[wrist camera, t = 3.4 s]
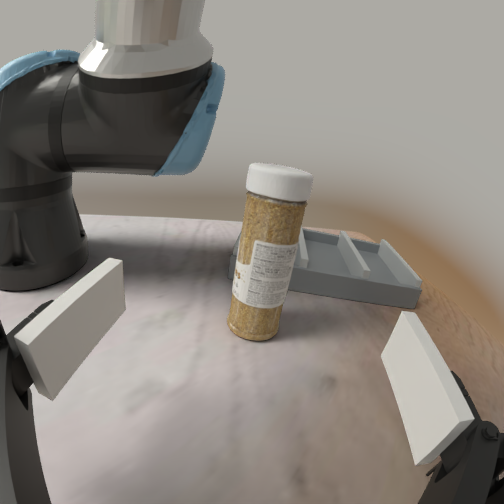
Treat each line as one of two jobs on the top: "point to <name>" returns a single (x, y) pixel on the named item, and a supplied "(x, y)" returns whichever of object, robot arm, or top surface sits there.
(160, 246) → the top surface
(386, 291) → the tray
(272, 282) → the spice jar
